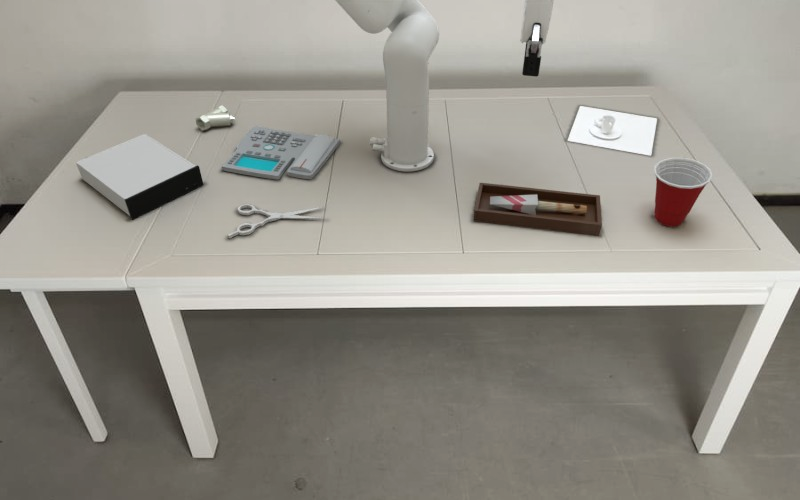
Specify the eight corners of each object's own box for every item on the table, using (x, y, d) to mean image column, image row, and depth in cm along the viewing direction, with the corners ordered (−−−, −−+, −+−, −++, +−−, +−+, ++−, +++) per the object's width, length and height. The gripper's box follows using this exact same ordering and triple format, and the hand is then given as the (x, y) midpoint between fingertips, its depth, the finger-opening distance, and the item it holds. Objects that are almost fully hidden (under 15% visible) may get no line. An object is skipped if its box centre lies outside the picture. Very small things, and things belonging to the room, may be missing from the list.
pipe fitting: (238, 124, 166) (219, 116, 169) (236, 111, 164) (217, 102, 166) (216, 137, 161) (197, 128, 164) (214, 123, 159) (194, 115, 161)
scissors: (230, 205, 136) (324, 196, 138) (231, 208, 137) (324, 199, 139) (227, 235, 128) (327, 226, 130) (228, 238, 129) (327, 229, 131)
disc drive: (132, 220, 134) (126, 200, 131) (81, 180, 145) (74, 161, 142) (204, 185, 144) (199, 166, 141) (150, 150, 155) (145, 132, 152)
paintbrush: (491, 189, 135) (586, 199, 134) (489, 199, 137) (583, 210, 135) (490, 199, 132) (588, 210, 131) (488, 210, 134) (585, 221, 132)
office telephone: (340, 133, 157) (309, 176, 142) (340, 143, 158) (310, 186, 144) (253, 120, 161) (215, 160, 146) (254, 129, 163) (217, 170, 148)
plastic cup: (634, 203, 138) (648, 155, 130) (685, 203, 138) (701, 155, 130) (648, 234, 130) (663, 184, 122) (702, 235, 129) (720, 185, 122)
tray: (473, 221, 133) (474, 210, 131) (478, 192, 141) (479, 182, 139) (599, 235, 129) (602, 225, 127) (597, 206, 137) (600, 195, 135)
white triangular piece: (592, 121, 166) (595, 107, 164) (623, 126, 164) (627, 112, 161) (586, 137, 160) (590, 122, 157) (619, 142, 158) (623, 128, 155)
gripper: (525, -37, 126) (515, 47, 137) (520, -9, 113) (509, 82, 124) (563, -35, 125) (550, 50, 136) (563, -6, 112) (549, 85, 123)
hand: (531, 65), depth 130 cm, fingers open, 9 cm apart
